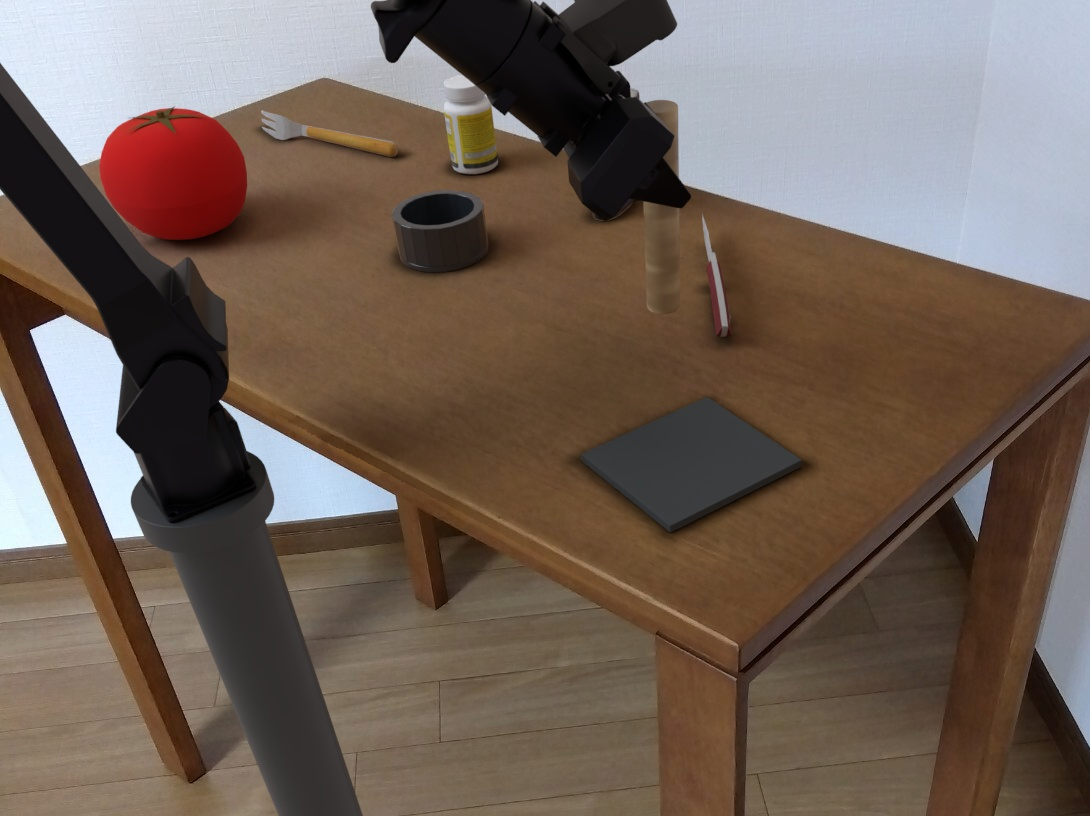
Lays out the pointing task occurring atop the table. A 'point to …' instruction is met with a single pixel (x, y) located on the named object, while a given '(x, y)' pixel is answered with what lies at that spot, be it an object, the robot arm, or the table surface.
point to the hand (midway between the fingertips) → (680, 194)
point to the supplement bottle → (469, 127)
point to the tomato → (174, 174)
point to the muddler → (663, 231)
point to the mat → (690, 463)
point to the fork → (326, 135)
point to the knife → (717, 290)
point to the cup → (440, 230)
